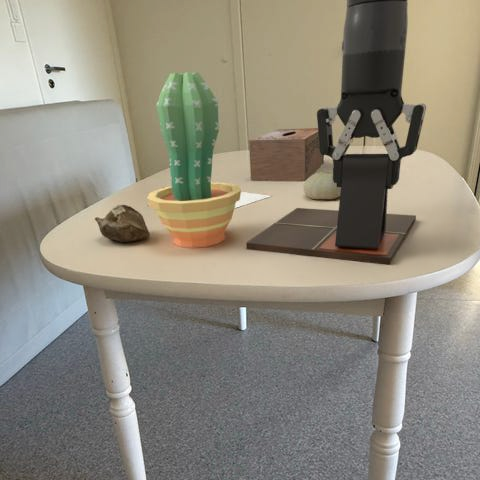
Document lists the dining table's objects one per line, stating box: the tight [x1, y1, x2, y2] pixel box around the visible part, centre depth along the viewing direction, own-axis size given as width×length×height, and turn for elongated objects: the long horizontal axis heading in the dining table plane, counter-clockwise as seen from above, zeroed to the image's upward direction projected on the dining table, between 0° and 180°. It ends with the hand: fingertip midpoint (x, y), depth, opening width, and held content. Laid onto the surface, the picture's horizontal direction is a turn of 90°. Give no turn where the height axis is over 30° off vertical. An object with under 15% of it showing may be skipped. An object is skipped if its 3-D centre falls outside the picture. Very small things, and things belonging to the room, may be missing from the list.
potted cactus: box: [146, 71, 242, 249], centre depth 70 cm, size 15×15×25 cm
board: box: [245, 207, 417, 265], centre depth 74 cm, size 22×22×1 cm
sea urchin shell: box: [303, 172, 341, 201], centre depth 96 cm, size 9×8×8 cm
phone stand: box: [335, 153, 390, 249], centre depth 64 cm, size 9×6×12 cm, turn 157°
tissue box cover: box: [248, 127, 325, 182], centre depth 124 cm, size 26×14×10 cm, turn 160°
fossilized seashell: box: [94, 204, 150, 243], centre depth 78 cm, size 8×7×10 cm
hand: (364, 186), depth 63 cm, fingers closed on phone stand, 6 cm apart
